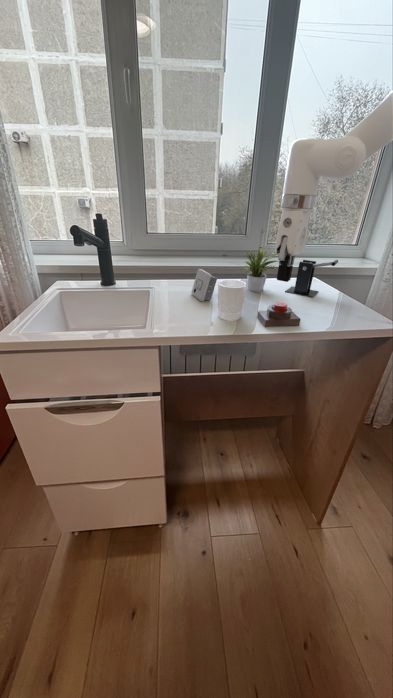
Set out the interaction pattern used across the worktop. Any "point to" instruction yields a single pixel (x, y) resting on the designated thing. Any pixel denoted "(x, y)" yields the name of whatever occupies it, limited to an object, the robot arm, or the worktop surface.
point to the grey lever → (325, 264)
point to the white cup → (230, 299)
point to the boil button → (280, 306)
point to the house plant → (257, 270)
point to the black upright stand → (304, 280)
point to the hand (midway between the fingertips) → (283, 280)
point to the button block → (278, 318)
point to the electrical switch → (203, 285)
